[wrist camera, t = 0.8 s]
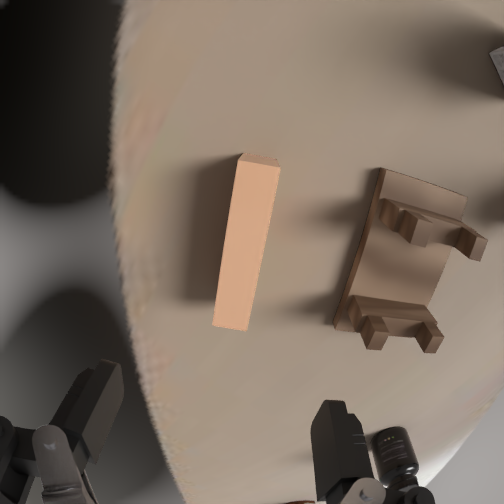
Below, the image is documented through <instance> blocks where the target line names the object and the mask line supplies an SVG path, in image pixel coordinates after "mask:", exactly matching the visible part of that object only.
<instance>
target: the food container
mask: <svg viewBox="0 0 504 504" xmlns="http://www.w3.org/2000/svg"><path fill="white" fill-rule="evenodd" d="M286 504H315V501H295V502H290V503H286Z"/></svg>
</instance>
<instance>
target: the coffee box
mask: <svg viewBox="0 0 504 504" xmlns="http://www.w3.org/2000/svg"><path fill="white" fill-rule="evenodd" d="M489 54H490V56H491V58H492V60H493V63H494V65H495V67H496V69H497V71H498V73H499V76H500V78H501V80H502V83H503V85H504V46H502V47H500V48H498V49H496V50H494V51H492V52H490V53H489Z"/></svg>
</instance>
